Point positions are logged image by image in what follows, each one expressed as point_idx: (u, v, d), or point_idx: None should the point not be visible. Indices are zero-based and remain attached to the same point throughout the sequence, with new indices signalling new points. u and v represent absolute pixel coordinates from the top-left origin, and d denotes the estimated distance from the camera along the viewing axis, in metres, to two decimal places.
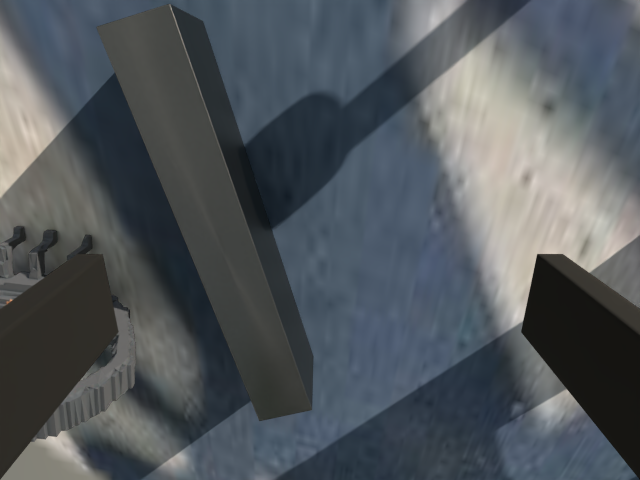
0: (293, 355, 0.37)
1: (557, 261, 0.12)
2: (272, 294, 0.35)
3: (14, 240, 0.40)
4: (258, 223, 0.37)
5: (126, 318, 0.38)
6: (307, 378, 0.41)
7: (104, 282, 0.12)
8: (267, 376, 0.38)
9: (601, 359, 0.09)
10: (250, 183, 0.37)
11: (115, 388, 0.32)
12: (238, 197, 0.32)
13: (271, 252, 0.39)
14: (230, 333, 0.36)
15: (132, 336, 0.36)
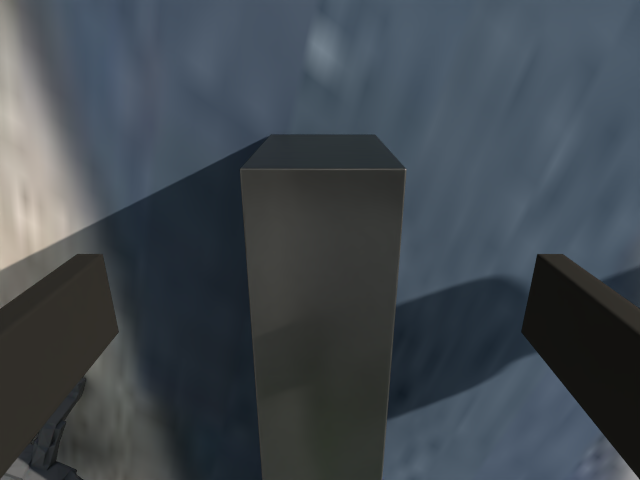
0: None
1: (557, 261, 0.12)
2: None
3: None
4: None
5: None
6: None
7: (104, 282, 0.12)
8: None
9: (601, 359, 0.09)
10: None
11: None
12: None
13: None
14: None
15: None
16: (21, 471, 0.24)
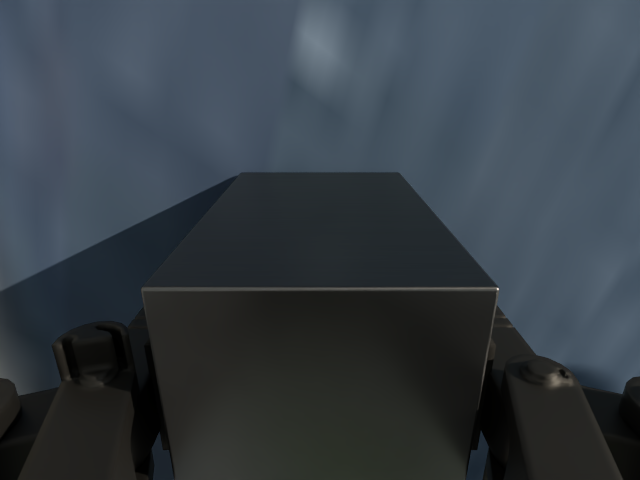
0: None
1: None
2: None
3: None
4: None
5: None
6: None
7: None
8: None
9: None
10: None
11: None
12: None
13: None
14: None
15: None
16: None
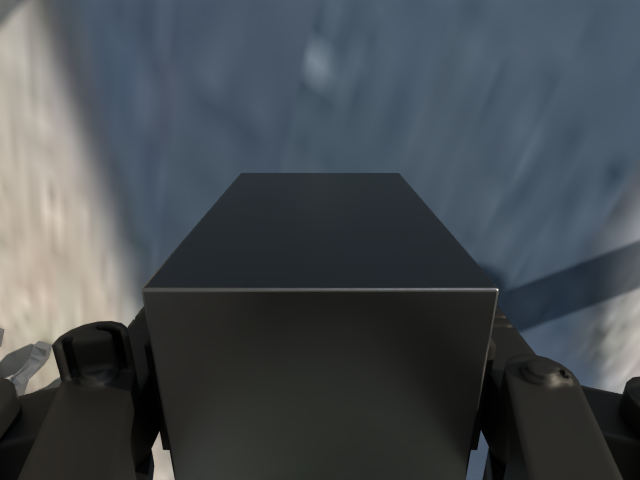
0: None
1: None
2: None
3: None
4: None
5: None
6: None
7: None
8: None
9: None
10: None
11: None
12: None
13: None
14: None
15: None
16: None
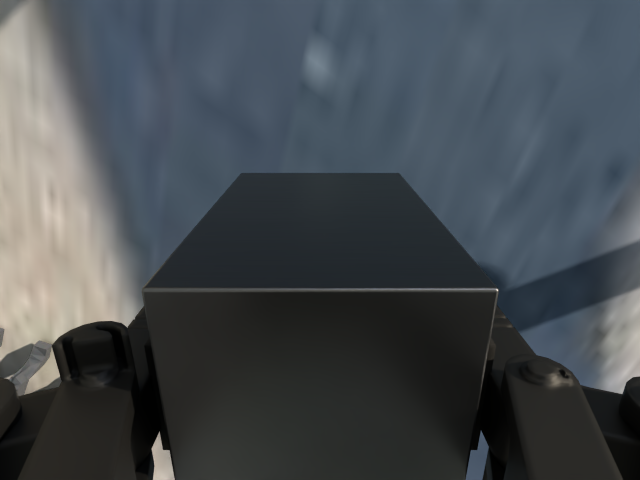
0: None
1: None
2: None
3: None
4: None
5: None
6: None
7: None
8: None
9: None
10: None
11: None
12: None
13: None
14: None
15: None
16: None
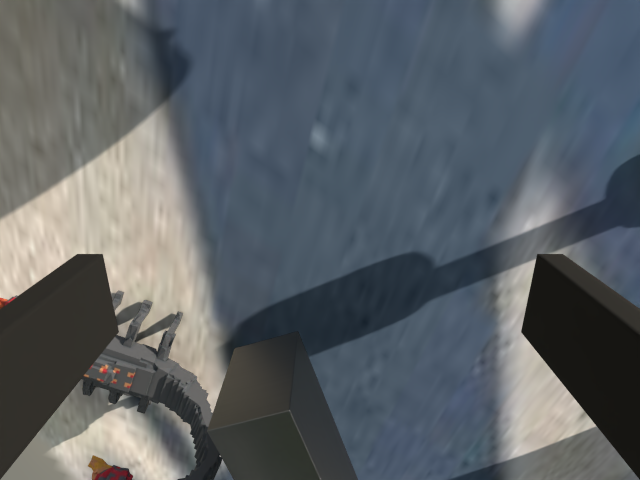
0: None
1: (557, 261, 0.12)
2: None
3: (115, 305, 0.44)
4: None
5: (207, 404, 0.42)
6: None
7: (104, 282, 0.12)
8: None
9: (601, 359, 0.09)
10: None
11: None
12: None
13: None
14: None
15: None
16: (153, 359, 0.43)
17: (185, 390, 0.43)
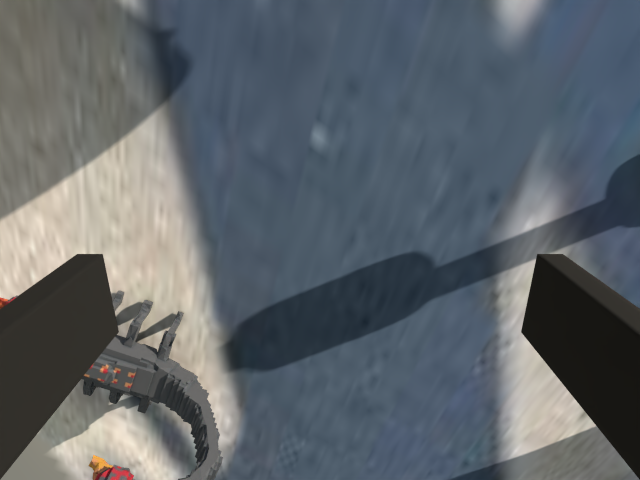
0: None
1: (557, 261, 0.12)
2: None
3: (116, 305, 0.44)
4: None
5: (208, 404, 0.42)
6: None
7: (104, 282, 0.12)
8: None
9: (601, 359, 0.09)
10: None
11: None
12: None
13: None
14: None
15: (215, 426, 0.41)
16: (153, 359, 0.43)
17: (186, 389, 0.43)
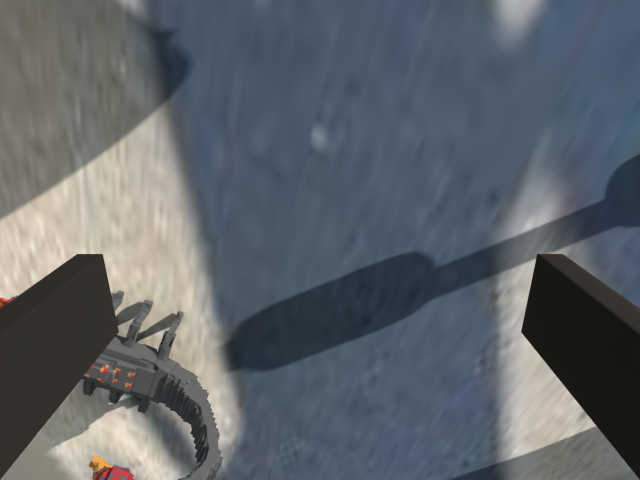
0: None
1: (557, 261, 0.12)
2: None
3: (116, 305, 0.44)
4: None
5: (208, 404, 0.42)
6: None
7: (104, 282, 0.12)
8: None
9: (601, 359, 0.09)
10: None
11: None
12: None
13: None
14: None
15: (215, 426, 0.41)
16: (153, 359, 0.43)
17: (186, 389, 0.43)
